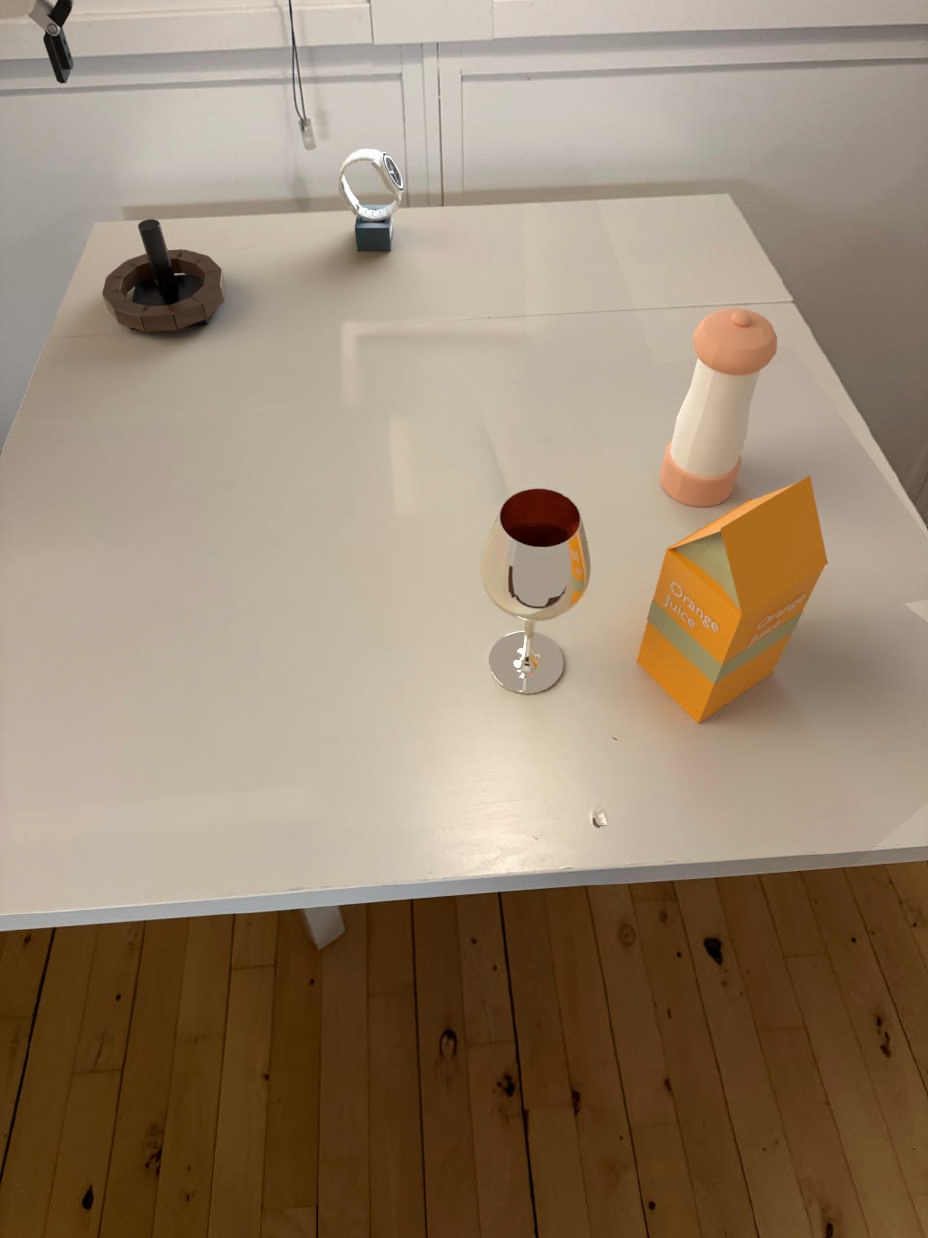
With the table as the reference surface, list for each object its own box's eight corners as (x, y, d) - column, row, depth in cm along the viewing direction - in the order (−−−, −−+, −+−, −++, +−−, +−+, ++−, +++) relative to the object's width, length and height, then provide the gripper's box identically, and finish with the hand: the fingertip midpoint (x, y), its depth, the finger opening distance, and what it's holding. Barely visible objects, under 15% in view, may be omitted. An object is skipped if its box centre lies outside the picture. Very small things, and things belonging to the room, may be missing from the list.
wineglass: (561, 618, 80) (582, 469, 65) (584, 696, 75) (612, 553, 60) (470, 631, 79) (471, 483, 64) (488, 710, 74) (493, 569, 60)
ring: (101, 334, 103) (95, 319, 101) (117, 267, 111) (111, 252, 109) (221, 327, 104) (217, 311, 102) (228, 261, 112) (224, 246, 110)
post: (130, 329, 105) (101, 248, 97) (139, 285, 111) (113, 205, 103) (207, 324, 106) (186, 243, 98) (213, 281, 111) (192, 201, 103)
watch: (406, 250, 115) (401, 164, 106) (343, 250, 115) (333, 164, 106) (408, 227, 119) (403, 141, 110) (347, 227, 119) (337, 141, 110)
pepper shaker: (716, 451, 92) (765, 283, 77) (744, 500, 88) (802, 333, 73) (649, 461, 92) (685, 294, 76) (674, 512, 87) (718, 345, 72)
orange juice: (634, 661, 77) (678, 494, 61) (709, 613, 80) (769, 443, 64) (699, 726, 73) (763, 566, 57) (775, 673, 76) (856, 508, 60)
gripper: (-202, -134, 69) (-91, 102, 83) (28, -142, 70) (100, 92, 84) (-170, -161, 74) (-70, 67, 87) (45, -168, 75) (110, 58, 88)
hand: (13, 79), depth 86 cm, fingers open, 9 cm apart
